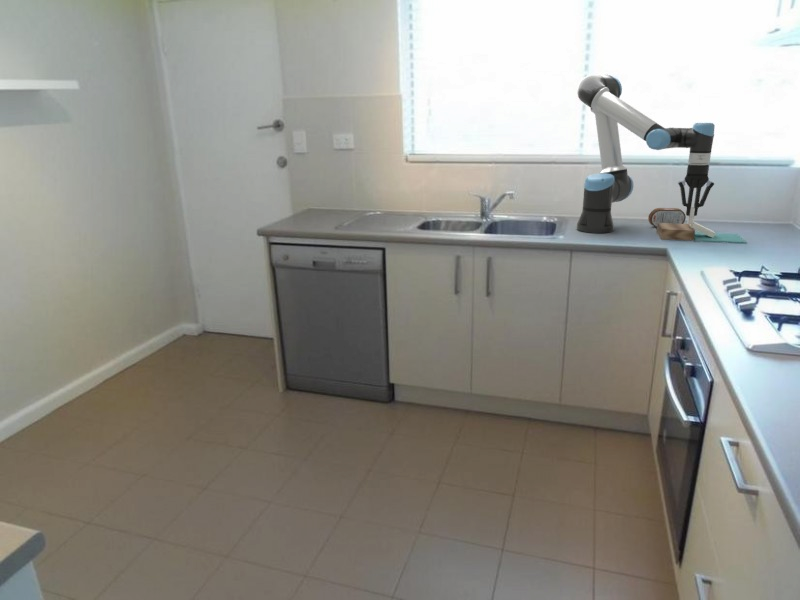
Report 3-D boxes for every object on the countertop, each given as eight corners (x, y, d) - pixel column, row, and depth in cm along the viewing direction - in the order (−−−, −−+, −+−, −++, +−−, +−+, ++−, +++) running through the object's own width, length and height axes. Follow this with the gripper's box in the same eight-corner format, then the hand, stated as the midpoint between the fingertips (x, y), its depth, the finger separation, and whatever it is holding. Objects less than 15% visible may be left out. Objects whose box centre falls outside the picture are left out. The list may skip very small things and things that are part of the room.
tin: (682, 226, 253) (685, 207, 250) (685, 228, 250) (687, 209, 247) (647, 226, 254) (649, 207, 252) (649, 228, 251) (651, 208, 249)
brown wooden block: (660, 239, 230) (662, 229, 229) (656, 232, 243) (657, 222, 241) (693, 240, 227) (695, 230, 225) (687, 233, 239) (689, 224, 238)
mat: (695, 241, 226) (695, 239, 225) (688, 233, 240) (688, 231, 240) (746, 243, 220) (747, 242, 220) (736, 235, 235) (737, 233, 235)
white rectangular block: (691, 227, 229) (694, 223, 228) (689, 225, 234) (692, 220, 234) (713, 238, 228) (716, 233, 227) (710, 234, 233) (713, 230, 233)
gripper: (681, 164, 222) (673, 224, 230) (719, 165, 219) (709, 226, 226) (679, 163, 229) (671, 221, 237) (715, 163, 225) (706, 222, 233)
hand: (690, 223), depth 231 cm, fingers closed
